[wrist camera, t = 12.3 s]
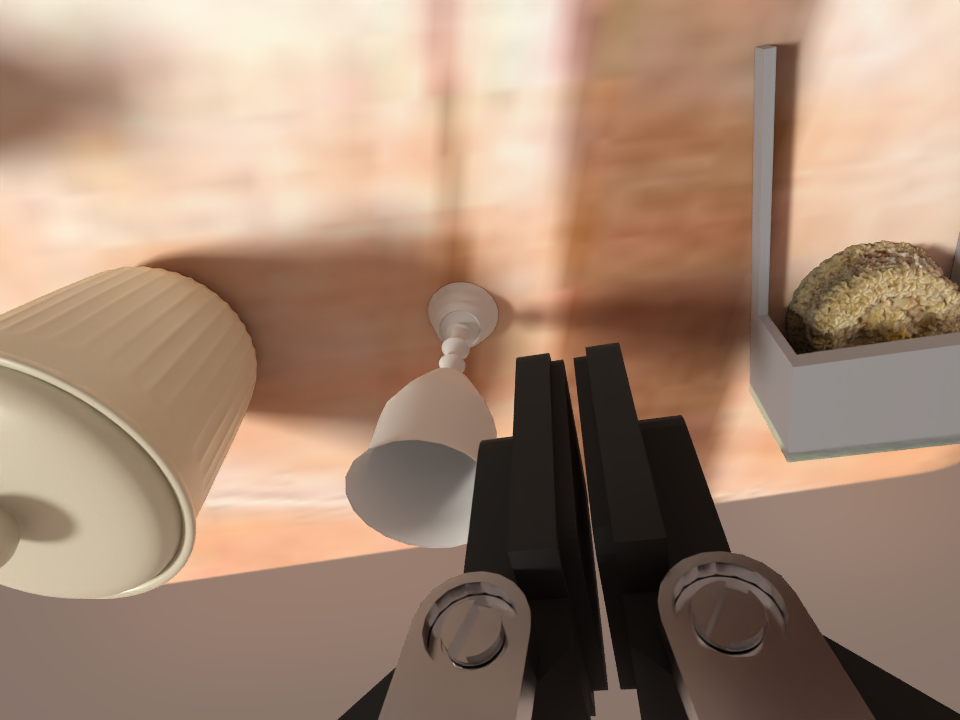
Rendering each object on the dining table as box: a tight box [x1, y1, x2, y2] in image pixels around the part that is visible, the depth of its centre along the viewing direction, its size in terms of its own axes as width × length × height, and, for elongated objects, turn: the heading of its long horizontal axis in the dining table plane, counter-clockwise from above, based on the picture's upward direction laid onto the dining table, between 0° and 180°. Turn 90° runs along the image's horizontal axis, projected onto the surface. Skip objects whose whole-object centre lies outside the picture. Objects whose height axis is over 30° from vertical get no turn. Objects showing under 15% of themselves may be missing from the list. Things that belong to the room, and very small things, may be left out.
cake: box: [786, 240, 960, 354], centre depth 37 cm, size 10×10×5 cm
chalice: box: [346, 282, 499, 548], centre depth 34 cm, size 7×7×18 cm
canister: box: [0, 266, 257, 599], centre depth 36 cm, size 18×18×21 cm
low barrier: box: [750, 45, 960, 462], centre depth 33 cm, size 23×13×8 cm, turn 13°
